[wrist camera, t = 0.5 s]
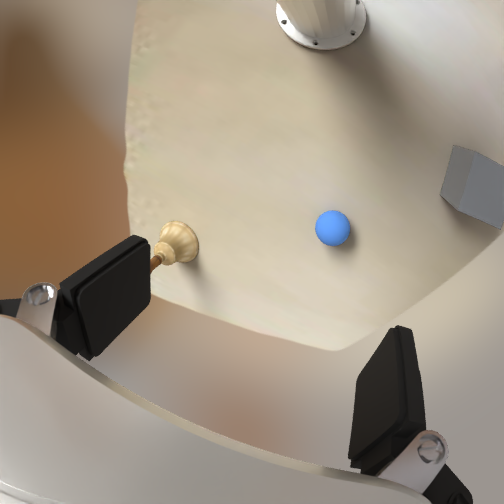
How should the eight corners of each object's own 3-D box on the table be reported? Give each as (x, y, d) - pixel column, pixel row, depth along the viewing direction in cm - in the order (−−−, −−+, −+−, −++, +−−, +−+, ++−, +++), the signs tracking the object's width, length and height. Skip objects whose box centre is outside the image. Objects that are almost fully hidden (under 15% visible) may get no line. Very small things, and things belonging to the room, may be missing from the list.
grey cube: (453, 145, 31) (474, 151, 24) (493, 164, 29) (518, 175, 23) (439, 194, 35) (457, 210, 28) (479, 211, 33) (500, 229, 26)
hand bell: (207, 249, 51) (157, 298, 37) (179, 268, 55) (130, 315, 41) (179, 212, 49) (120, 250, 36) (153, 234, 54) (97, 273, 40)
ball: (321, 202, 41) (318, 212, 37) (353, 211, 40) (354, 222, 36) (313, 232, 44) (309, 246, 39) (344, 241, 43) (344, 255, 38)
